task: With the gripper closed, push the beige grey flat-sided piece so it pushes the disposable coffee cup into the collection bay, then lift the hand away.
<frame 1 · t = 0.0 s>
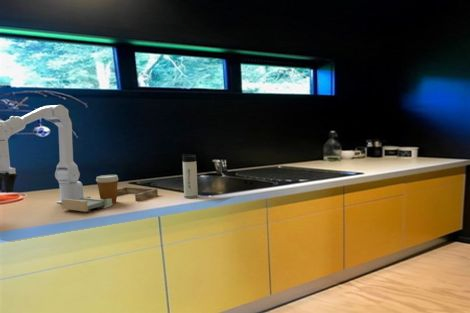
hand: (3, 191, 137), 10 cm above the worktop, tool pointing down, fingers open, 7 cm apart
travel mug: (190, 197, 164), on the worktop
collection bay: (130, 196, 169), on the worktop
disposable coffee cup: (108, 203, 157), on the worktop
beige grey flat-sided piece: (87, 202, 147), point 3 cm above the worktop, slide at 0.0 cm
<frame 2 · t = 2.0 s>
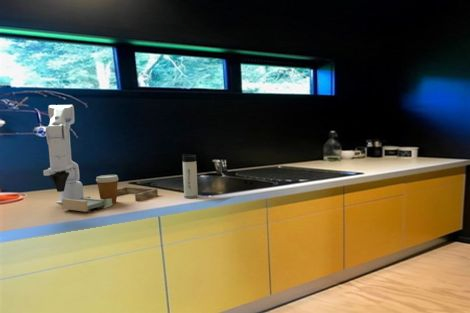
hand: (60, 191, 136), 10 cm above the worktop, tool pointing down, fingers closed
nothing on the worktop moved.
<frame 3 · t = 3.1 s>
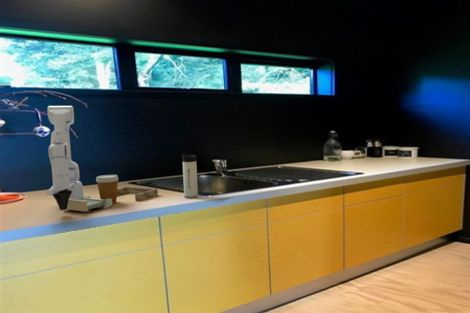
hand: (63, 209, 137), 2 cm above the worktop, tool pointing down, fingers closed
nothing on the worktop moved.
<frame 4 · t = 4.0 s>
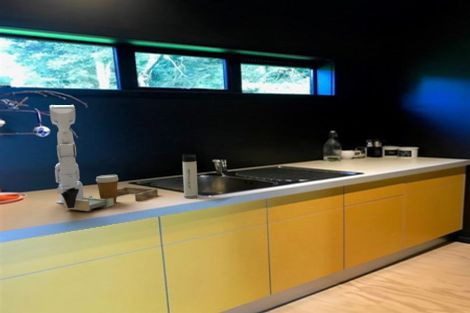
hand: (71, 207, 140), 2 cm above the worktop, tool pointing down, fingers closed
beige grey flat-sided piece: (88, 202, 148), point 3 cm above the worktop, slide at 0.9 cm, touching gripper
everything else where it was.
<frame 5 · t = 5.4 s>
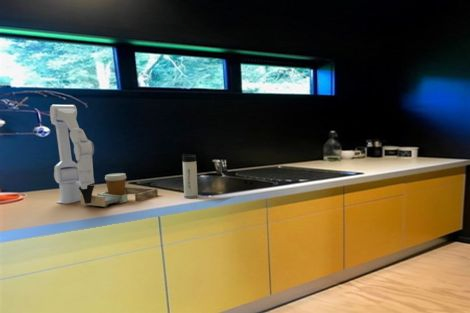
hand: (88, 203, 147), 2 cm above the worktop, tool pointing down, fingers closed
disposable coffee cup: (117, 201, 161), on the worktop, touching beige grey flat-sided piece
beige grey flat-sided piece: (104, 198, 155), point 3 cm above the worktop, slide at 8.8 cm, touching disposable coffee cup, gripper
everything else where it was.
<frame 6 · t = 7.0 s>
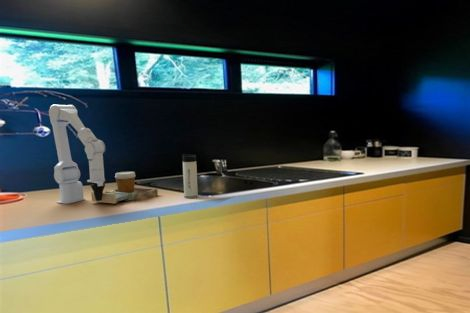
hand: (98, 200, 152), 2 cm above the worktop, tool pointing down, fingers closed
disposable coffee cup: (126, 198, 166), on the worktop, touching beige grey flat-sided piece
beige grey flat-sided piece: (114, 195, 160), point 3 cm above the worktop, slide at 14.5 cm, touching disposable coffee cup, gripper
everything else where it was.
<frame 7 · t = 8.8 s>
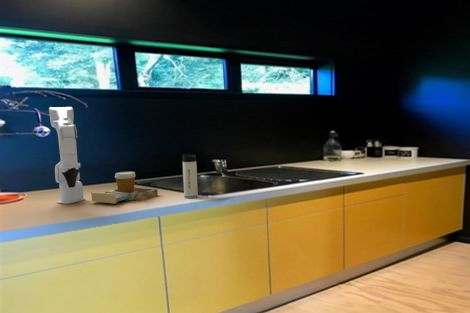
hand: (71, 187, 146), 9 cm above the worktop, tool pointing down, fingers closed
disposable coffee cup: (126, 198, 166), on the worktop
beige grey flat-sided piece: (114, 195, 160), point 3 cm above the worktop, slide at 14.5 cm
everything else where it was.
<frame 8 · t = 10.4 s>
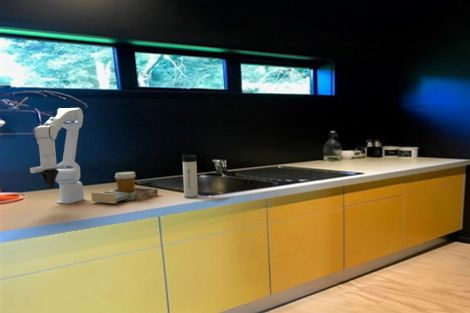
hand: (50, 188, 145), 9 cm above the worktop, tool pointing down, fingers closed
nothing on the worktop moved.
at the end: beige grey flat-sided piece slide at 14.5 cm; disposable coffee cup inside the target area (2.1 cm from its centre), on the worktop; disposable coffee cup tilted 0° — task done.
